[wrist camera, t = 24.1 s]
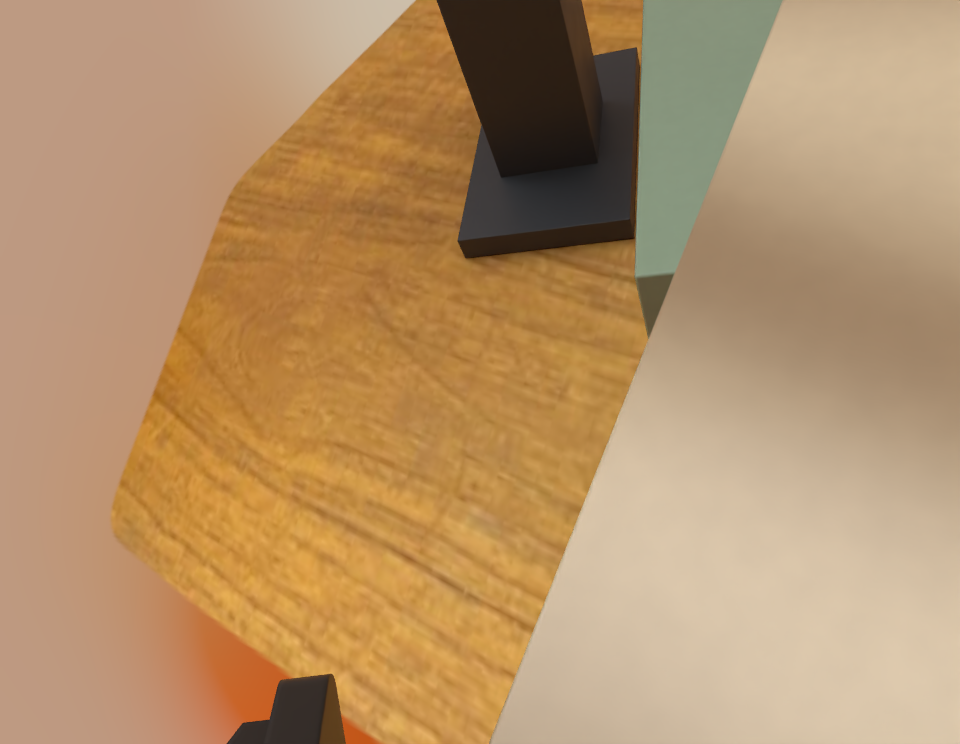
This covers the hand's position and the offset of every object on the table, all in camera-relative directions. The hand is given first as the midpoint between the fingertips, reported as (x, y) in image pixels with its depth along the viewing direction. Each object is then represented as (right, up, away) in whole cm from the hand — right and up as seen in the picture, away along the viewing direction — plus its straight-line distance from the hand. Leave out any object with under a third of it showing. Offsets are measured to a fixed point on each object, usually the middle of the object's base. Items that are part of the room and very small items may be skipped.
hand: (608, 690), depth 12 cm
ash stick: (+6, +10, +4) cm, 13 cm away
